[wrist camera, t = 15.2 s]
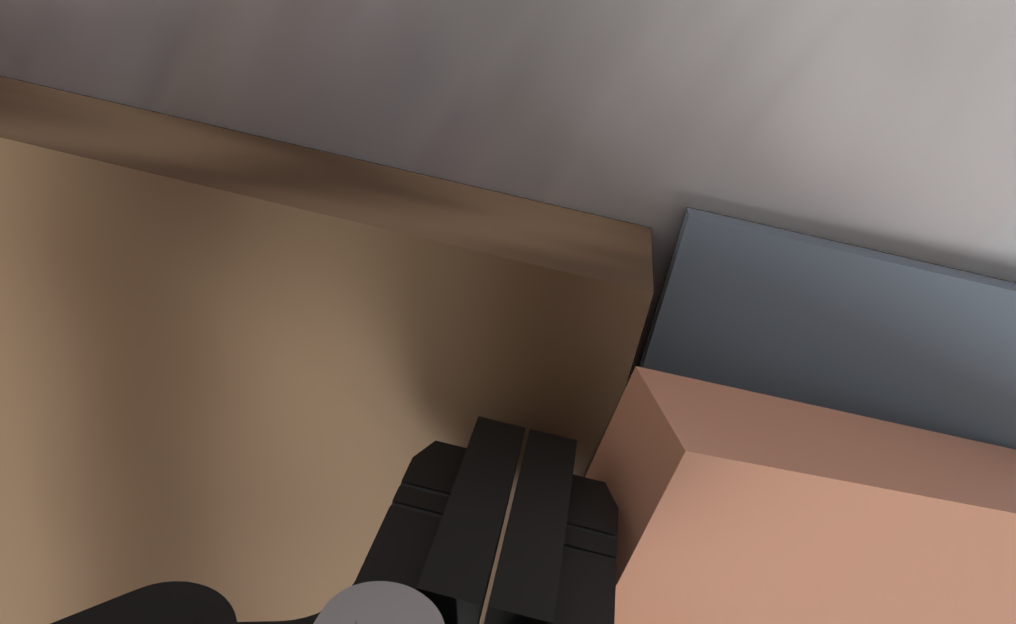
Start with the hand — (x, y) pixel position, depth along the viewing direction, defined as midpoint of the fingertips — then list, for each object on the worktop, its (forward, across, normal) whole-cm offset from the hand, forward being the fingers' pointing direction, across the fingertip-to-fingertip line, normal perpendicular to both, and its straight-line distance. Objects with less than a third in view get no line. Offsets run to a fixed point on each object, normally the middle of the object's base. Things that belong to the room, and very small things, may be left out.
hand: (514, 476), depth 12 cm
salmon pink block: (+2, -5, +1) cm, 5 cm away
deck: (+4, +6, +3) cm, 8 cm away
